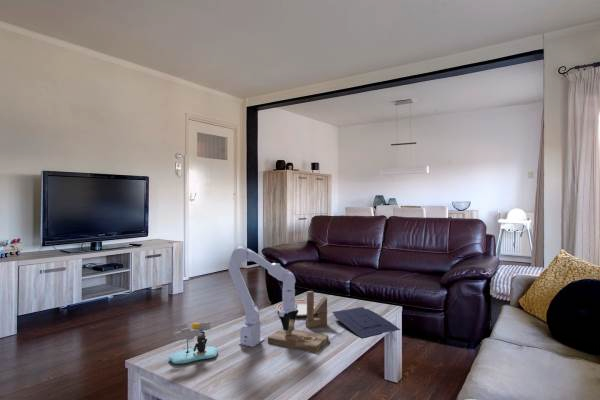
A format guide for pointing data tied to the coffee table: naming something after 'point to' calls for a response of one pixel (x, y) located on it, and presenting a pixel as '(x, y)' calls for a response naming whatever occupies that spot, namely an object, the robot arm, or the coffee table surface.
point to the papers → (364, 322)
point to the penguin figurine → (189, 334)
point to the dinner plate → (299, 307)
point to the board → (299, 340)
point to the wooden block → (316, 311)
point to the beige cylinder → (290, 327)
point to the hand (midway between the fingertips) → (288, 327)
